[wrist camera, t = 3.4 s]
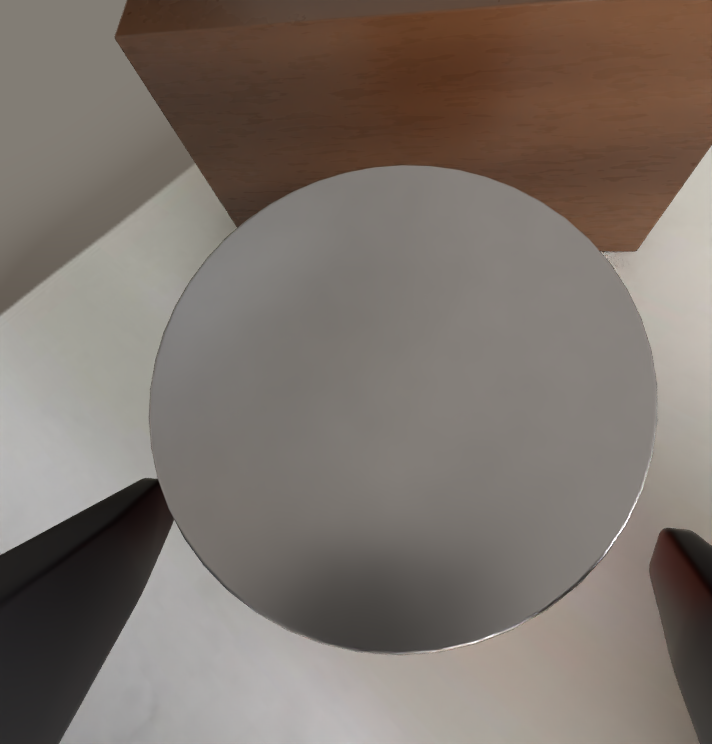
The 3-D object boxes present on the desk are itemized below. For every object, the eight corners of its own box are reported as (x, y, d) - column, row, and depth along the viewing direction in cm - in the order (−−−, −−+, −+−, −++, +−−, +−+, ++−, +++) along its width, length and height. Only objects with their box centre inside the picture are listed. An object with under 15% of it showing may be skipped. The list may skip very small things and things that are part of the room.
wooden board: (636, 252, 19) (831, -21, 10) (250, 250, 22) (113, 37, 13) (632, 200, 20) (809, -100, 10) (259, 204, 23) (135, -28, 13)
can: (511, 585, 16) (688, 704, 5) (315, 561, 17) (93, 612, 6) (512, 391, 18) (639, 157, 7) (336, 381, 19) (199, 168, 8)
